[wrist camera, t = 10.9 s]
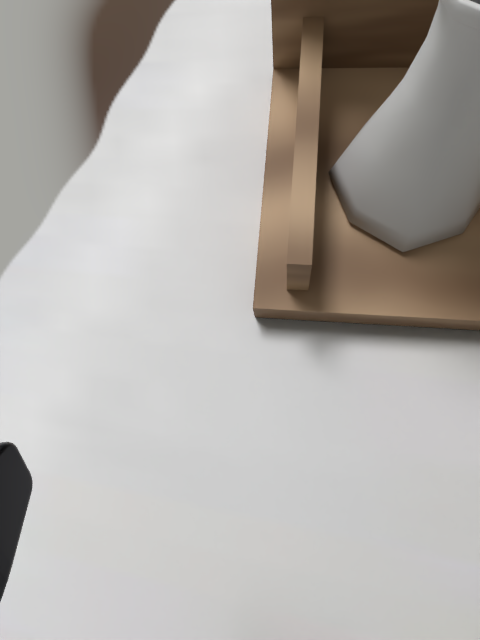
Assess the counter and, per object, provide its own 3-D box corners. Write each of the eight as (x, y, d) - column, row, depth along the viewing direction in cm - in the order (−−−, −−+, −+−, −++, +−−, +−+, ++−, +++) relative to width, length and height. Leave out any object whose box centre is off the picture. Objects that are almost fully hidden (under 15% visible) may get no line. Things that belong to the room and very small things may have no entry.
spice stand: (558, 334, 20) (879, 200, 9) (255, 317, 22) (224, 186, 11) (530, 71, 24) (731, -240, 13) (275, 73, 26) (267, -201, 15)
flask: (519, 193, 21) (717, -24, 11) (399, 280, 20) (500, 130, 11) (414, 96, 23) (506, -155, 13) (302, 173, 22) (314, -33, 13)
